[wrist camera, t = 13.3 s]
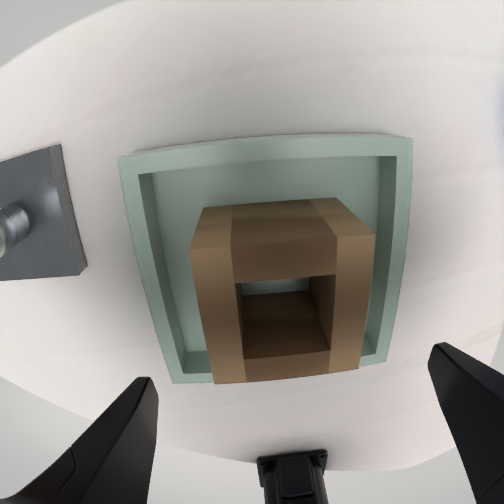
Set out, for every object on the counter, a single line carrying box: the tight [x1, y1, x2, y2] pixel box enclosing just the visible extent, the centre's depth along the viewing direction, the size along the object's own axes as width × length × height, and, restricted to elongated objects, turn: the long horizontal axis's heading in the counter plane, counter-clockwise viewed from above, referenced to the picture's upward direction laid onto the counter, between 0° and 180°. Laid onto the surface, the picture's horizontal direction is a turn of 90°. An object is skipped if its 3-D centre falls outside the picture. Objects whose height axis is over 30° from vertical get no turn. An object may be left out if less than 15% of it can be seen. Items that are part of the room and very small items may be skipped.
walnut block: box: [188, 197, 375, 384], centre depth 14 cm, size 6×6×5 cm
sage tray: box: [118, 133, 412, 383], centre depth 16 cm, size 13×13×2 cm
